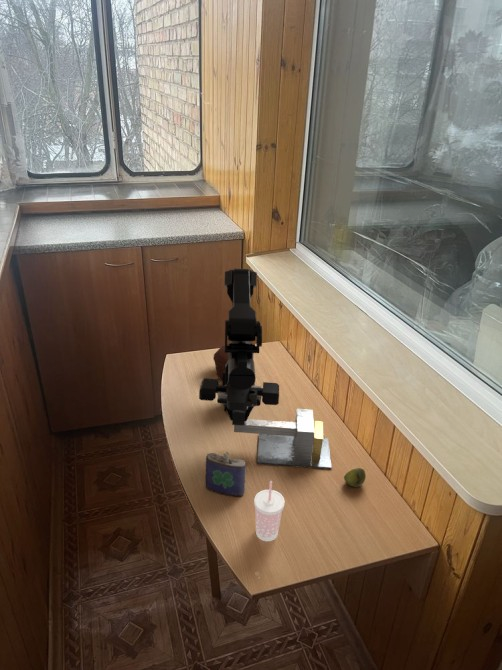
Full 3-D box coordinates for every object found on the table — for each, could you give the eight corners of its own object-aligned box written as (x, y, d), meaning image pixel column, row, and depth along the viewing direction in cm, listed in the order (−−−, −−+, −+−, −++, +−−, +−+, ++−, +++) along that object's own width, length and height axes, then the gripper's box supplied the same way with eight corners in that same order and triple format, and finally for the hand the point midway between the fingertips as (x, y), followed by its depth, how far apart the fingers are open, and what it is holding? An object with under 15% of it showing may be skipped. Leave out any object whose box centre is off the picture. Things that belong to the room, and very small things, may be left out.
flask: (245, 490, 117) (247, 454, 112) (242, 499, 114) (243, 462, 109) (207, 481, 119) (207, 445, 114) (203, 490, 116) (202, 453, 111)
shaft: (231, 432, 126) (232, 412, 123) (232, 425, 128) (233, 404, 125) (307, 438, 125) (309, 417, 122) (306, 430, 128) (309, 410, 125)
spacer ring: (311, 459, 126) (314, 437, 123) (312, 442, 132) (314, 420, 129) (319, 460, 126) (322, 438, 123) (319, 443, 132) (322, 421, 129)
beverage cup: (267, 516, 110) (271, 466, 104) (287, 534, 106) (293, 483, 100) (246, 530, 106) (248, 479, 100) (266, 549, 102) (270, 498, 96)
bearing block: (257, 463, 125) (259, 431, 120) (259, 435, 134) (261, 403, 130) (331, 469, 124) (336, 436, 119) (327, 440, 134) (332, 408, 129)
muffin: (248, 386, 155) (250, 358, 150) (211, 385, 155) (212, 356, 150) (249, 366, 165) (250, 339, 161) (214, 365, 165) (215, 337, 161)
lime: (340, 485, 119) (343, 469, 117) (350, 474, 123) (353, 458, 120) (358, 494, 117) (361, 478, 115) (367, 483, 120) (370, 466, 118)
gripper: (195, 381, 112) (195, 438, 119) (280, 387, 111) (276, 444, 118) (202, 356, 121) (202, 410, 129) (281, 361, 121) (276, 415, 128)
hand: (238, 420), depth 126 cm, fingers closed on shaft, 3 cm apart
